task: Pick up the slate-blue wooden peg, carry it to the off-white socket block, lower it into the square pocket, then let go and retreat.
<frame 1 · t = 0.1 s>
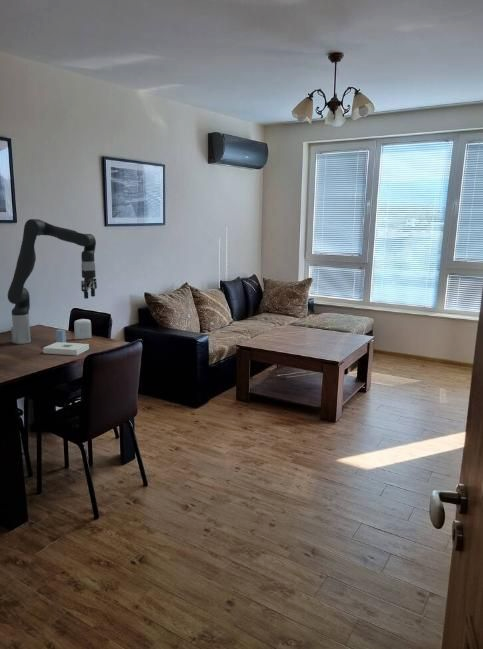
hand: (89, 297, 276), 29 cm above the table, fingers open, 8 cm apart
socket: (66, 351, 270), on the table
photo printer: (83, 338, 301), on the table
peg: (61, 345, 283), on the table
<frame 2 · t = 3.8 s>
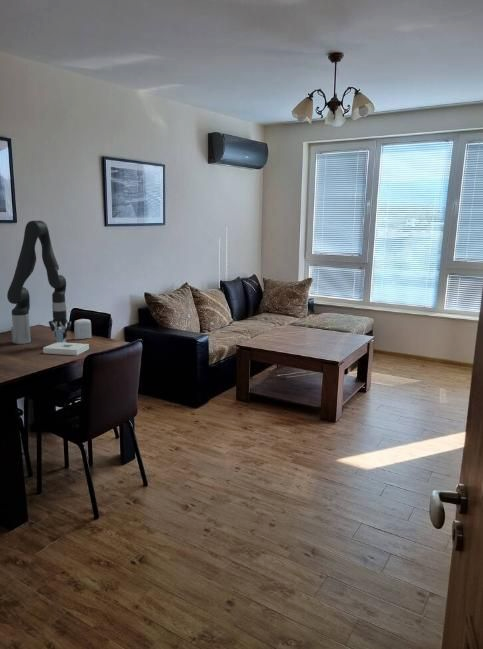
hand: (61, 338, 282), 4 cm above the table, fingers closed on peg, 4 cm apart
peg: (61, 345, 283), on the table, touching gripper
everything else where it was.
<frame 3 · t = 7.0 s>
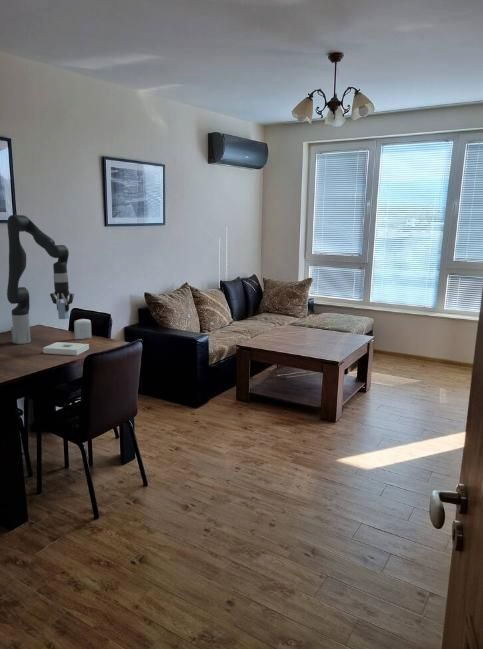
hand: (63, 311, 271), 22 cm above the table, fingers closed on peg, 4 cm apart
peg: (63, 318, 272), point 18 cm above the table, touching gripper
everything else where it was.
when the fingers open (5 cm above the table, at t = 10.3 s): peg stays where it is, resting on socket.
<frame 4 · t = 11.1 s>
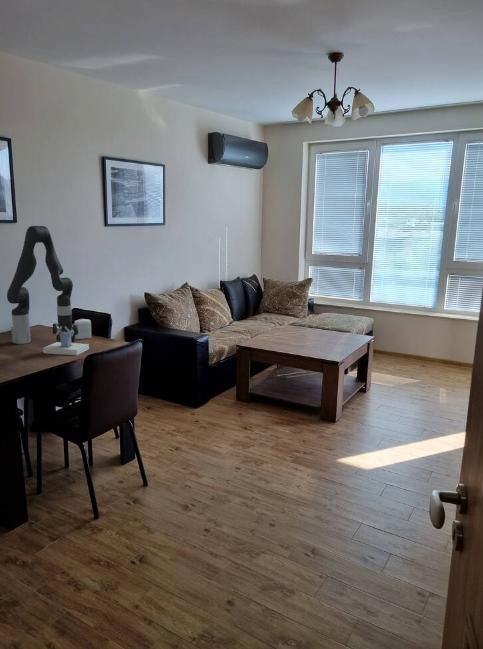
hand: (66, 341, 269), 5 cm above the table, fingers open, 8 cm apart
peg: (66, 349, 270), point 1 cm above the table, touching socket
everything else where it was.
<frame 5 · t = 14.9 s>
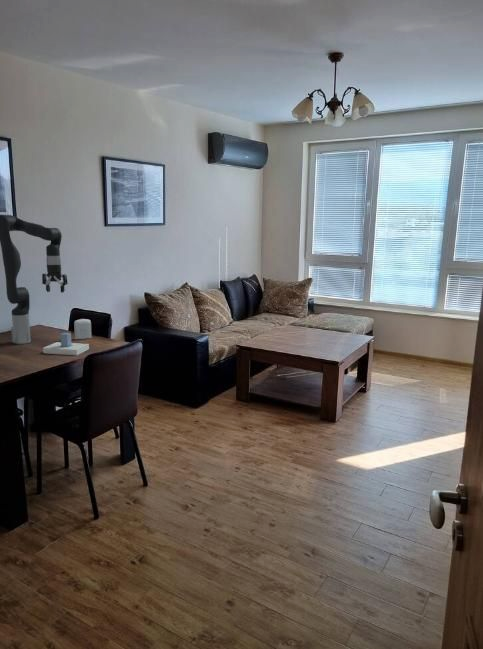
hand: (55, 292, 274), 32 cm above the table, fingers open, 8 cm apart
nothing on the table moved.
at the end: peg 0.1 cm off-centre on the socket, point 1.1 cm above the socket's base; peg tilted 0°; the gripper is holding nothing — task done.
